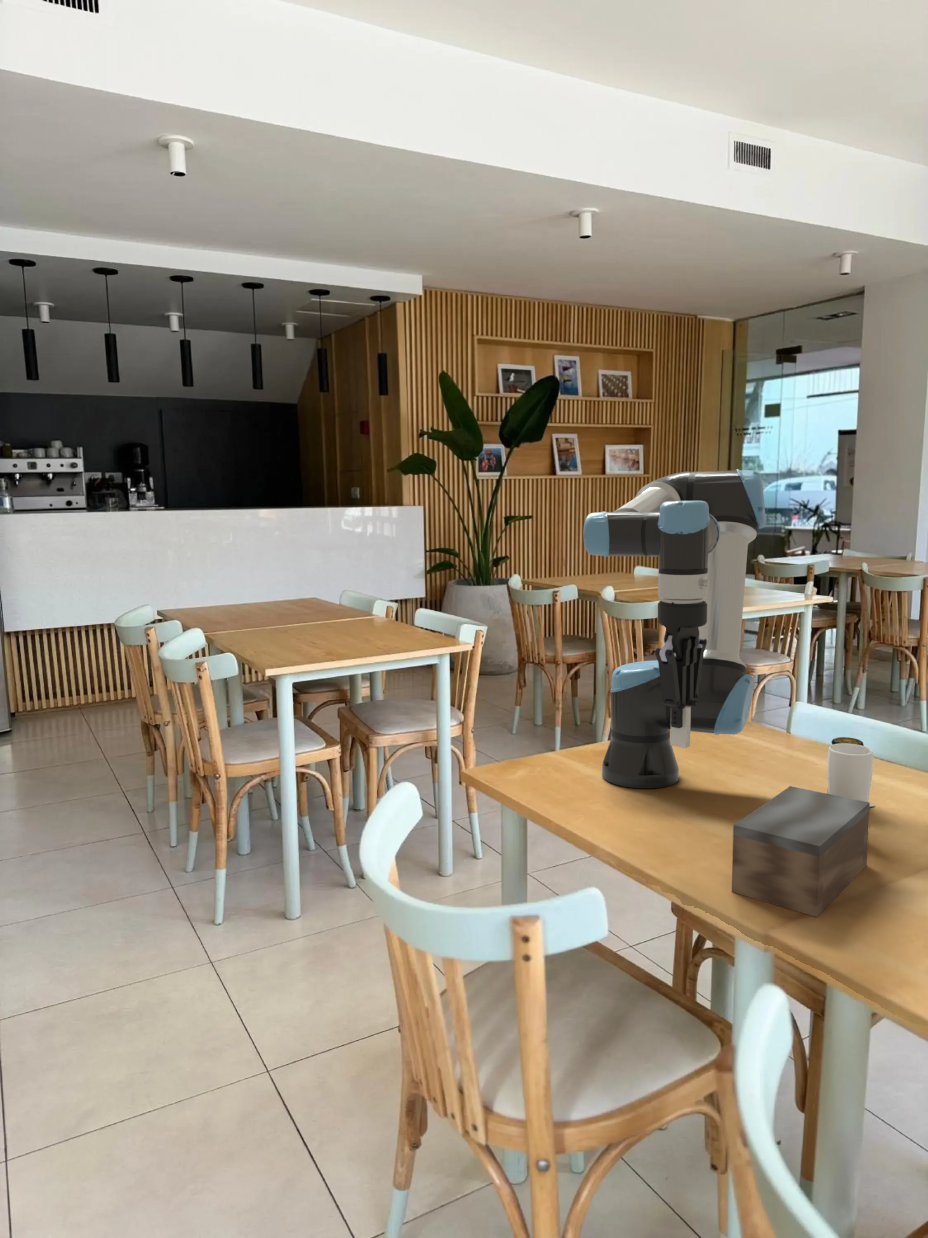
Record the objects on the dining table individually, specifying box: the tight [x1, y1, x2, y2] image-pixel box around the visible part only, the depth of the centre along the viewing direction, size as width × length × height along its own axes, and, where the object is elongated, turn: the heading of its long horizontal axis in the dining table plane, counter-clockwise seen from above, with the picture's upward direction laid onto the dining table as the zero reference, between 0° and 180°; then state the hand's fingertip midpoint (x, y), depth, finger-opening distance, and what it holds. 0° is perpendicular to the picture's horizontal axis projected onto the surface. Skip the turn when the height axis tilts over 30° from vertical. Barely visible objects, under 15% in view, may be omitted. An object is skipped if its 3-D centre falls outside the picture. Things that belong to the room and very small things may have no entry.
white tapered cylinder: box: [826, 743, 874, 803], centre depth 142 cm, size 7×7×15 cm
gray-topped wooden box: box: [731, 785, 871, 918], centre depth 128 cm, size 12×21×10 cm, turn 139°
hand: (680, 745), depth 140 cm, fingers closed
